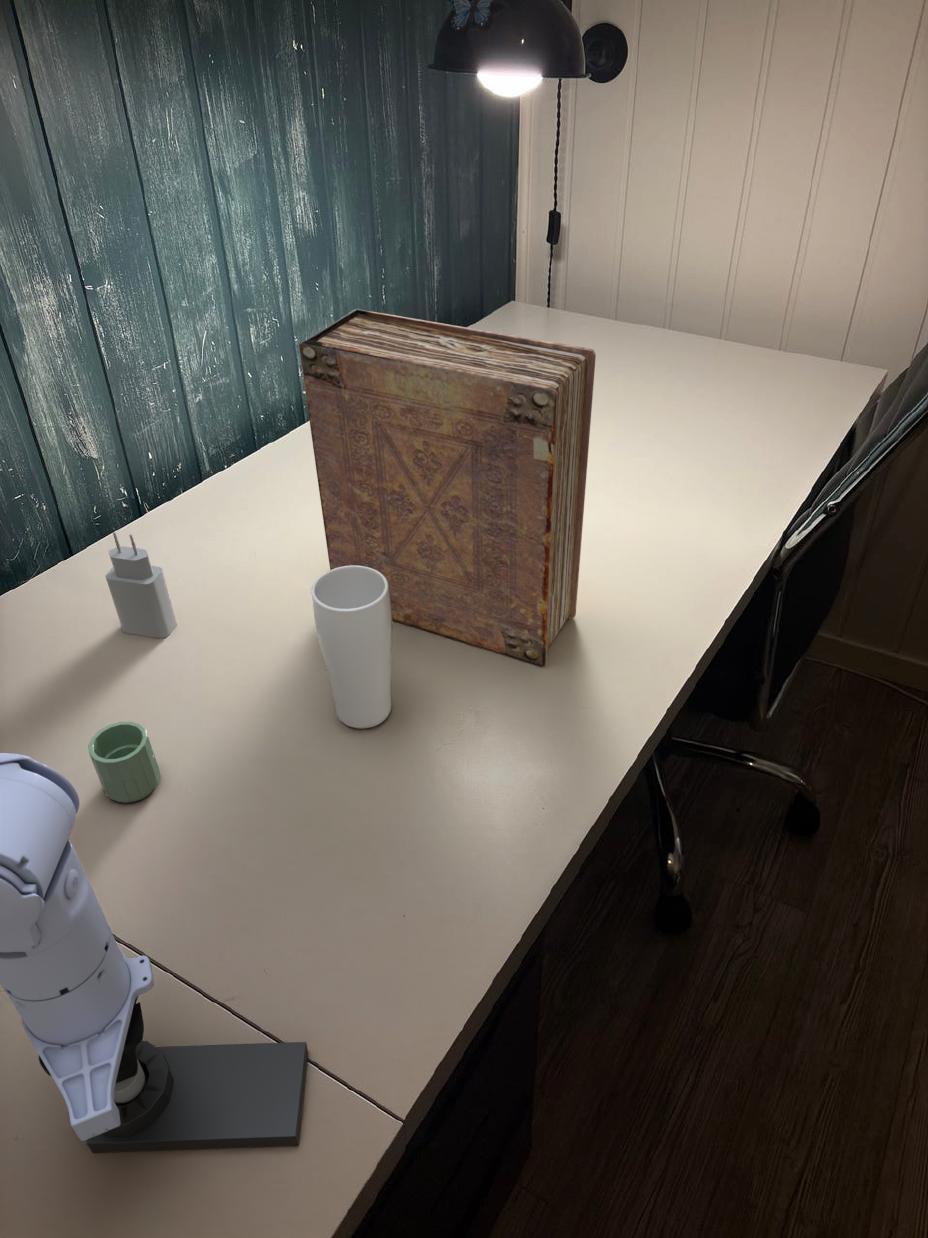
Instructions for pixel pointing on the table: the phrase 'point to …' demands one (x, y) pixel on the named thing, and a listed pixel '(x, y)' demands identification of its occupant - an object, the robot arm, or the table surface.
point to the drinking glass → (355, 641)
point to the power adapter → (139, 593)
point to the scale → (212, 1098)
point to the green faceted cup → (124, 761)
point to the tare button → (129, 1087)
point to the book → (454, 472)
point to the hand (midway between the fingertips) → (119, 1071)
